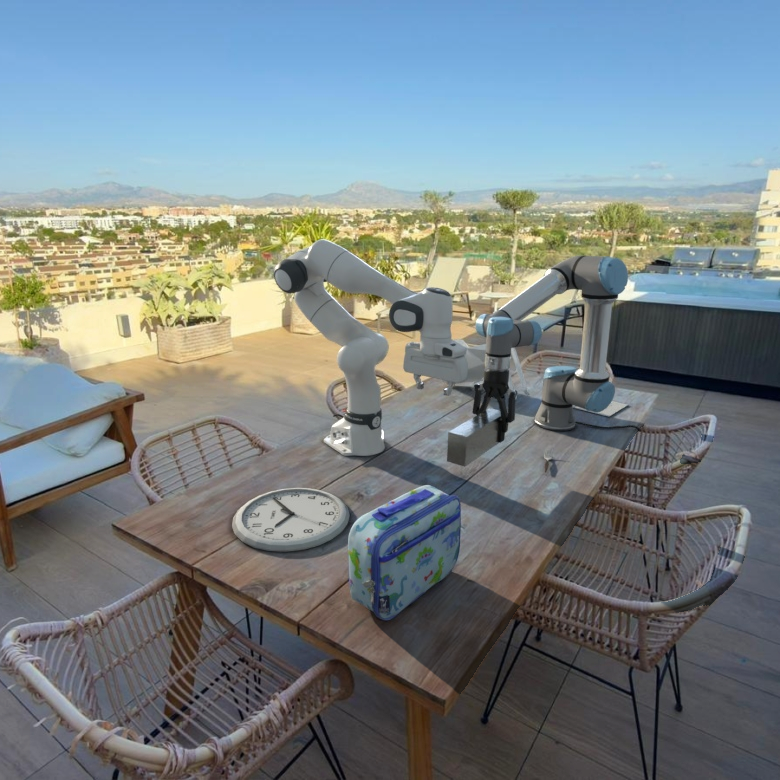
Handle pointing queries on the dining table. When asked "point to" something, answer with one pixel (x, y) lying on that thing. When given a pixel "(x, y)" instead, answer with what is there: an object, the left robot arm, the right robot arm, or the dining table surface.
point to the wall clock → (290, 519)
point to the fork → (547, 459)
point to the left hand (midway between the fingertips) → (433, 391)
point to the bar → (474, 437)
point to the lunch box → (403, 549)
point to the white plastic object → (478, 365)
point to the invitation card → (608, 409)
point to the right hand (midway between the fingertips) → (491, 438)
